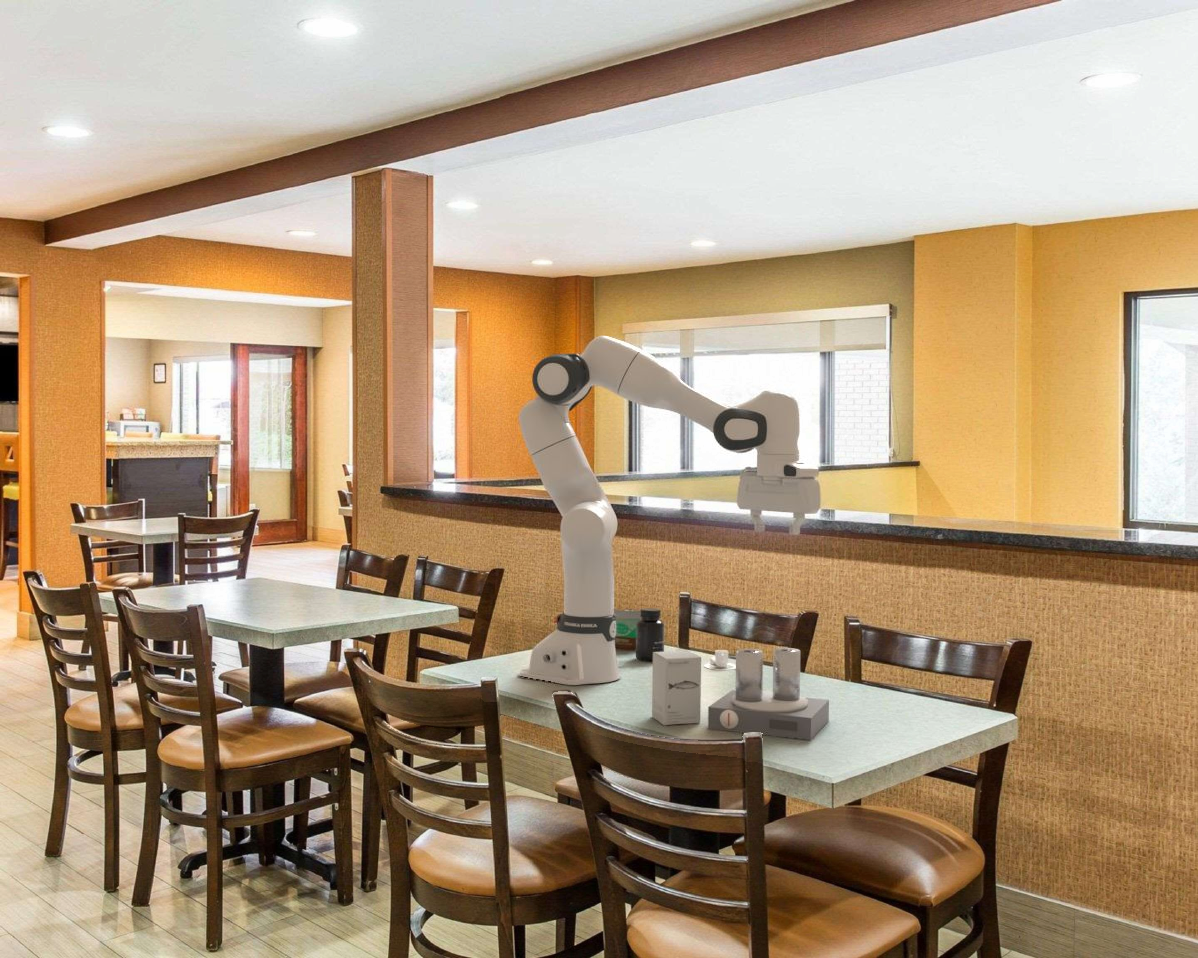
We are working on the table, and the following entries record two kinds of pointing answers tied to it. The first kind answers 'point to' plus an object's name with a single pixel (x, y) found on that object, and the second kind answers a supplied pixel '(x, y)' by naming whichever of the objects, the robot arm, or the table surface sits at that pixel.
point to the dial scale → (770, 716)
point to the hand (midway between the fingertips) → (776, 533)
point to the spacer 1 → (749, 675)
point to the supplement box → (676, 687)
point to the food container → (626, 629)
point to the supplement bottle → (649, 634)
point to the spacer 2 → (786, 674)
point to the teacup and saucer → (720, 660)
